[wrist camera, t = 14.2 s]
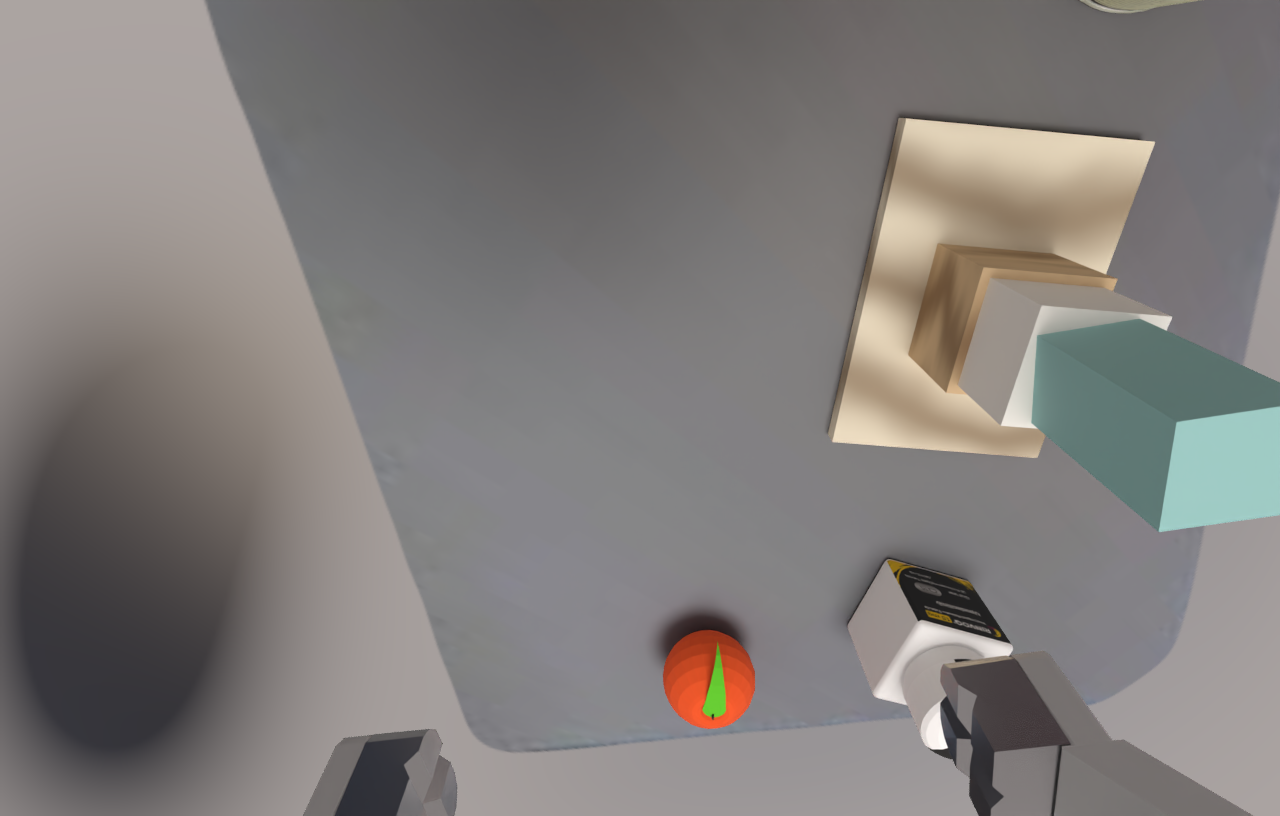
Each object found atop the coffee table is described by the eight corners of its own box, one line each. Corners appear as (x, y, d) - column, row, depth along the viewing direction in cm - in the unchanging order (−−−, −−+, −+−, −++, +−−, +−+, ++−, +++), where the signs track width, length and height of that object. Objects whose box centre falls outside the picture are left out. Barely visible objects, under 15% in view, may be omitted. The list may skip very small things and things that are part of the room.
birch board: (898, 117, 39) (906, 118, 38) (1140, 140, 39) (1155, 141, 38) (827, 433, 47) (832, 441, 46) (1028, 449, 48) (1037, 457, 46)
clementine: (666, 597, 53) (669, 667, 47) (756, 602, 53) (771, 672, 47) (658, 674, 56) (660, 750, 50) (742, 678, 57) (755, 754, 50)
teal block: (1036, 335, 31) (1176, 422, 23) (1139, 318, 31) (1318, 400, 23) (1031, 422, 33) (1158, 531, 25) (1128, 408, 33) (1289, 513, 25)
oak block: (937, 243, 40) (983, 267, 35) (1053, 253, 41) (1117, 278, 35) (907, 355, 43) (946, 393, 38) (1016, 363, 44) (1070, 402, 38)
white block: (990, 277, 35) (1041, 305, 31) (1104, 287, 35) (1172, 316, 31) (957, 385, 38) (1000, 425, 33) (1064, 394, 38) (1121, 435, 33)
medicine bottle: (970, 579, 52) (1057, 708, 41) (926, 647, 55) (996, 785, 44) (885, 555, 51) (951, 681, 40) (844, 626, 54) (895, 761, 43)
